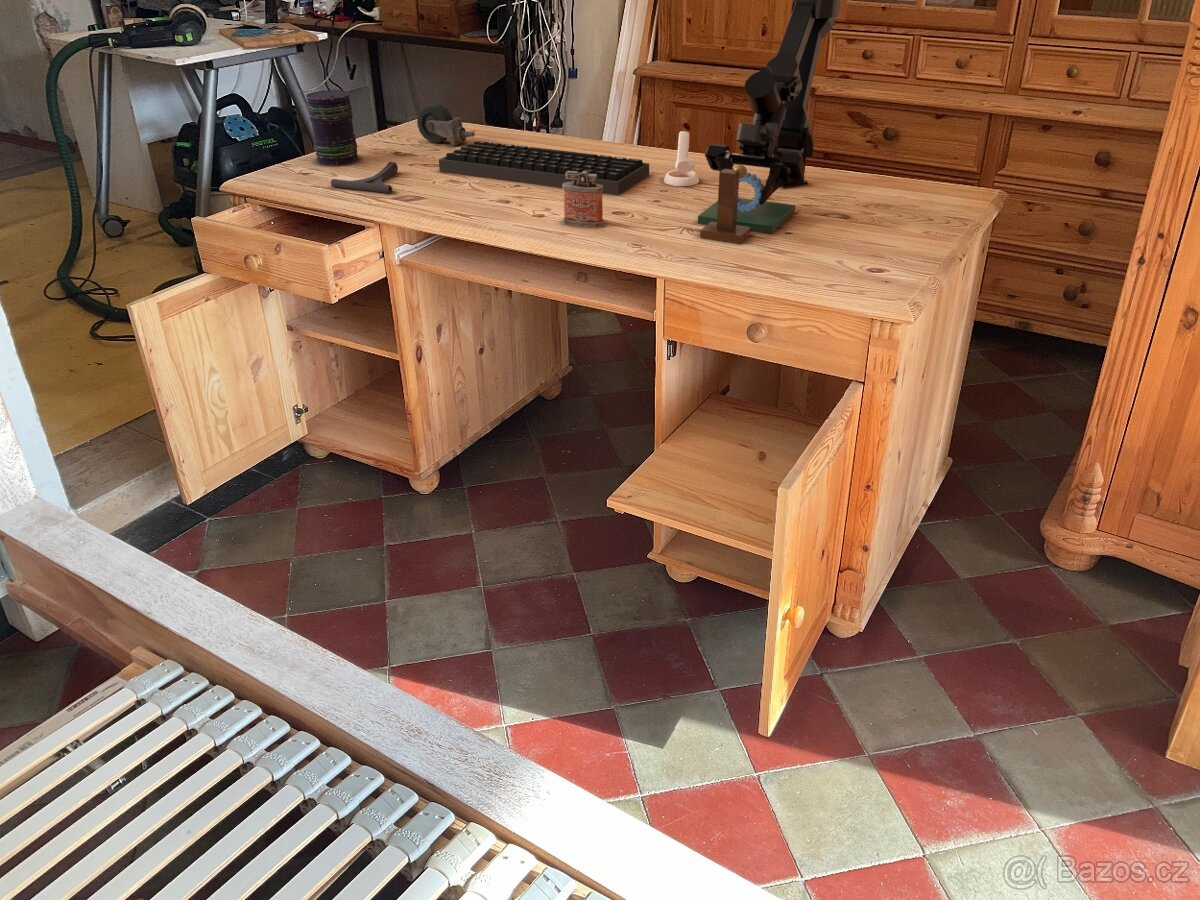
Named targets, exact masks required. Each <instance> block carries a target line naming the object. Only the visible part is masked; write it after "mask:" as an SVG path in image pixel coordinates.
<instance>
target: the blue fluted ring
mask: <svg viewBox="0 0 1200 900" xmlns="http://www.w3.org/2000/svg"><path fill="white" fill-rule="evenodd" d="M741 182H742V183H747V184H748V185H750V186H751V188H753V192H754V198H753V199H752V200H753V202H750V203H748V202H745V203H744V202H743V201H742V200H740V199H739V198H740V197H739V196H738V206H737V210H740V211H741V212H744V211H745V210H746V211H750V210H751V209H754V208H756V207H757V206H758V205H759V204H760V203H759V201H760V197H761V194H762V191H763V189H764V186H765V184H763V183H762V179H761V178H759V177H757V174H752V173H751V172H747V174H746V176H745V177H744V178H739V184H740V183H741Z"/></svg>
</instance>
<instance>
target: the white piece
mask: <svg viewBox="0 0 1200 900" xmlns="http://www.w3.org/2000/svg"><path fill="white" fill-rule="evenodd" d="M689 145H690V133H689V132H688V131H684V130H680V131H679V133H678V142H677V155H676V162H675V165H674V167H675V169H674V170H669V171H667V172H666V174H665V176H664V179H663V183H664V184H665V185H669V186H674V187H690V186H694V185H695V186H696V185H697V184H699V183H700V180H699V176H698V174H697V172H695V171H693V170H694V169H695V167H696V164H695V163H696V162H695V161H694V159H691V158H689Z"/></svg>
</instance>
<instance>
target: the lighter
mask: <svg viewBox="0 0 1200 900" xmlns="http://www.w3.org/2000/svg"><path fill="white" fill-rule="evenodd" d="M565 175H566V179H573V180H572V182H565V183H563V184H562V190H563V192H562V193H563V224H565V225H569V226H575V227H585V228H601V227H604V223H605V221H604V218H603V214H604V213H603V193H602V191H603V185H600V184H596V180H597V174H589V173H588V171H583V172H582V173H578V172H575V171H567V172H566V173H565ZM576 180H578V182H576Z"/></svg>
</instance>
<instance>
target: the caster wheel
mask: <svg viewBox="0 0 1200 900" xmlns="http://www.w3.org/2000/svg"><path fill="white" fill-rule="evenodd" d="M416 123H417V124H416V126H417V128H418V130H419V133H420V134H421V136H422V137H423V139H425V140H427V141H428V142H429V143H434V144H440V143H442V142H445V141H447V140H449V141H450V145H451V146H452V147H455V146H458V145H460V144H462V143H465V142H466V140H467V138H471V137H472V138H474V137H475V135H476V134H475V132H474V131H466V128H465V127H463V121H462V117H459V116H458V117H456V116H455V117H453V116H452V113H451V112H450V111H449V110H448V108H446V107H445V106H443V104H441V103H430V104H427V105H425V106H423V107H422V108H421V109H420V110H419V112H418V115H417V117H416Z"/></svg>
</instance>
